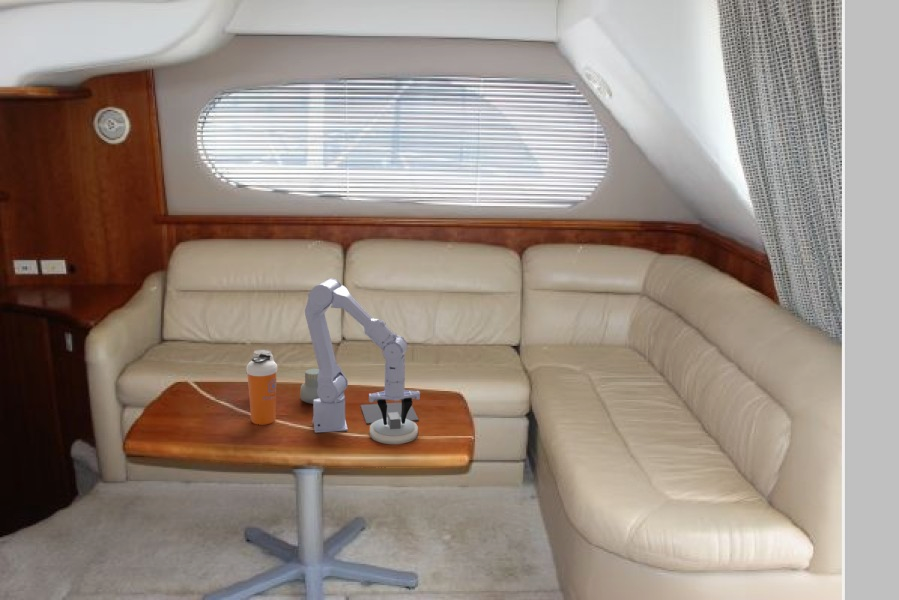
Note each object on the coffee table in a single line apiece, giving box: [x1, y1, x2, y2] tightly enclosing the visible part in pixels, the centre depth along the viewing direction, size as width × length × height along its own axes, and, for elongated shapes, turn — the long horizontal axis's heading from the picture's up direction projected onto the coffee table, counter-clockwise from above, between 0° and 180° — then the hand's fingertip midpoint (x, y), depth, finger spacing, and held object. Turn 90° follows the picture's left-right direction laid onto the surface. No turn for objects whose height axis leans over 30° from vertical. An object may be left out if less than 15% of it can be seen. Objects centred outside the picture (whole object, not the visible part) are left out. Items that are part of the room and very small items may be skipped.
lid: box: [373, 412, 415, 436], centre depth 211 cm, size 12×12×4 cm
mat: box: [360, 402, 420, 425], centre depth 227 cm, size 16×14×1 cm
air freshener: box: [299, 368, 319, 405], centre depth 233 cm, size 11×8×10 cm
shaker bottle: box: [245, 354, 278, 426], centre depth 216 cm, size 9×9×20 cm
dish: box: [369, 421, 419, 445], centre depth 212 cm, size 14×14×2 cm
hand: (394, 422), depth 211 cm, fingers open, 5 cm apart
